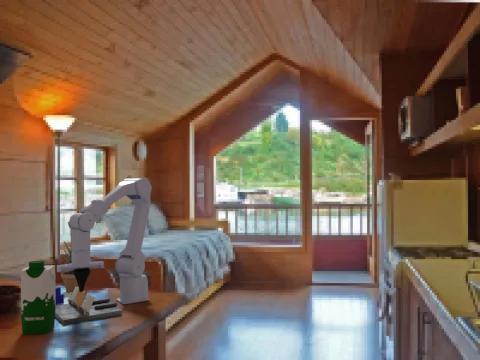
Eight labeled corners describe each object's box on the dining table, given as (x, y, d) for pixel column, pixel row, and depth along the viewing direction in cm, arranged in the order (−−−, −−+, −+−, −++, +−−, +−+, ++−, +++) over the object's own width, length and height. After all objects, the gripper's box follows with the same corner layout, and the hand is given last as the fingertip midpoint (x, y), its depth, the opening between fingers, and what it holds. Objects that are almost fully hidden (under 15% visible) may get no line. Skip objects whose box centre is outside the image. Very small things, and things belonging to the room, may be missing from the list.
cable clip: (63, 302, 166) (63, 286, 166) (54, 306, 162) (54, 288, 162) (38, 300, 170) (38, 283, 170) (28, 303, 166) (28, 286, 166)
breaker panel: (101, 302, 165) (101, 294, 165) (122, 315, 148) (122, 306, 149) (48, 310, 155) (48, 302, 155) (64, 325, 138) (64, 315, 138)
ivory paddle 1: (73, 299, 158) (78, 287, 159) (76, 302, 155) (81, 289, 156) (69, 298, 157) (75, 286, 159) (72, 300, 155) (78, 288, 156)
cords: (109, 301, 160) (109, 298, 160) (117, 306, 154) (117, 303, 154) (87, 304, 156) (87, 301, 156) (94, 309, 149) (94, 306, 149)
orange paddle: (79, 303, 152) (82, 290, 153) (82, 306, 149) (85, 292, 150) (75, 303, 152) (78, 289, 152) (78, 305, 149) (82, 291, 149)
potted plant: (69, 287, 190) (69, 227, 190) (91, 288, 188) (90, 227, 188) (55, 293, 180) (54, 229, 180) (77, 294, 178) (77, 229, 178)
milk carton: (17, 335, 129) (17, 263, 129) (27, 326, 138) (27, 258, 138) (51, 334, 130) (50, 262, 131) (58, 324, 139) (58, 257, 140)
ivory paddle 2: (85, 308, 147) (91, 295, 148) (89, 311, 144) (95, 297, 145) (82, 307, 146) (87, 294, 147) (85, 310, 143) (91, 296, 144)
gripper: (99, 247, 159) (98, 287, 158) (54, 250, 150) (54, 292, 150) (106, 249, 153) (105, 290, 153) (60, 252, 144) (59, 296, 144)
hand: (80, 292), depth 151 cm, fingers closed, pressing on orange paddle
